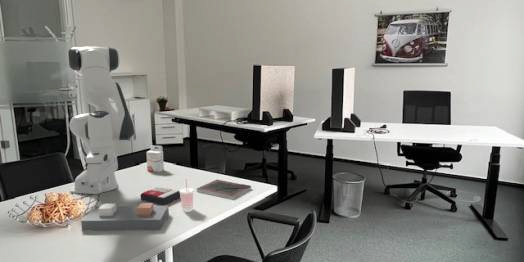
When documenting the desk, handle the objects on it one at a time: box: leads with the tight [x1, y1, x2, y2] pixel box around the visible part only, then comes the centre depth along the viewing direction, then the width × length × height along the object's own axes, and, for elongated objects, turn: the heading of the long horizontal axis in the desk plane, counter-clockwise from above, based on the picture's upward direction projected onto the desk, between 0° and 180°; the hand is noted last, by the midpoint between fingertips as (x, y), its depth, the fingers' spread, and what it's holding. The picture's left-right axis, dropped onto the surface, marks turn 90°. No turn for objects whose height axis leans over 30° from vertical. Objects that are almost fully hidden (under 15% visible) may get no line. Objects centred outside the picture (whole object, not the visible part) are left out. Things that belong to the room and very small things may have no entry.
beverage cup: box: [178, 178, 195, 213], centre depth 161 cm, size 6×6×14 cm
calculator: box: [140, 186, 181, 206], centre depth 175 cm, size 11×4×15 cm
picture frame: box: [196, 179, 252, 200], centre depth 186 cm, size 16×2×22 cm
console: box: [80, 205, 170, 232], centre depth 149 cm, size 30×14×4 cm, turn 91°
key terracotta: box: [137, 202, 154, 216], centre depth 149 cm, size 5×5×4 cm
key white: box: [99, 203, 117, 216], centre depth 149 cm, size 5×5×4 cm
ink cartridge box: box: [146, 144, 165, 173], centre depth 219 cm, size 9×5×15 cm, turn 77°
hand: (106, 187), depth 147 cm, fingers closed
